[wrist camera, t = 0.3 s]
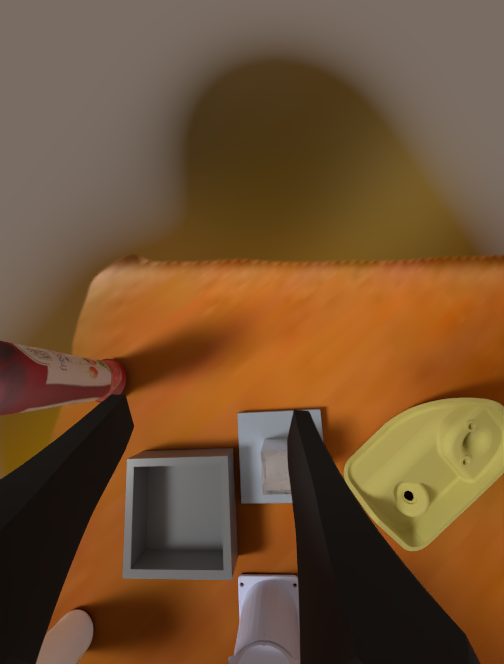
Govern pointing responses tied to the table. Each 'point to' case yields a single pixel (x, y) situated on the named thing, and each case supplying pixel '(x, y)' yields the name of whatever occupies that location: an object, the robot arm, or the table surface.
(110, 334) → the table surface
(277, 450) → the light grey block
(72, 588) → the table surface
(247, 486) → the base
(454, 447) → the plastic component
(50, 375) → the liquor
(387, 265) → the table surface
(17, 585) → the robot arm
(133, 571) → the bin
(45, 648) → the drinking glass
